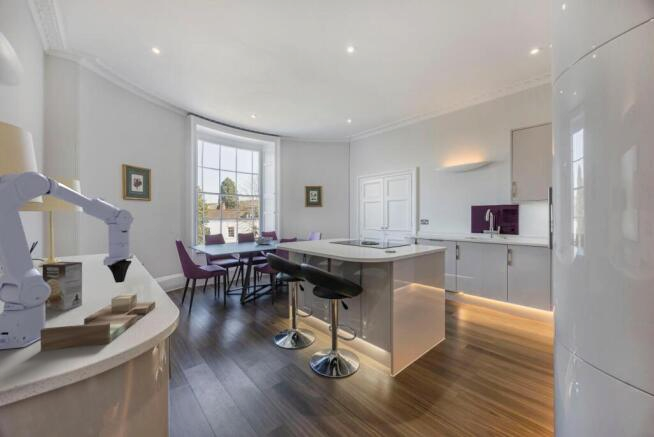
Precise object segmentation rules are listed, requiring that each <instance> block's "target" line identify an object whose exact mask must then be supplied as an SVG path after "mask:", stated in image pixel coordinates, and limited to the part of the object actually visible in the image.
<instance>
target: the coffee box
mask: <svg viewBox="0 0 654 437" xmlns="http://www.w3.org/2000/svg"><path fill="white" fill-rule="evenodd" d="M42 277H43V280H44V281H45V282H46V283H47V284H49V286H50V287H51V294H50V296H49V297H48V299H47V300H46V301H45V311H46V310H49V311H67V310H70V309H73V308H76V307H79V306H82V304H83V262H82V261H57V262H50V263H45V264H42Z"/></svg>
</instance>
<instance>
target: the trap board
mask: <svg viewBox="0 0 654 437" xmlns="http://www.w3.org/2000/svg"><path fill="white" fill-rule="evenodd" d="M155 308H156V301H155V300H154V301H143V302H137V305H136V306H135V307H133V308H132V309H130V310H125V311H112V312H111V304H109V305H107V306H105V307H103V308H101V309H99V310H98V311H96V312H94V313H92V314H91V315H89V316H87V317H86V316H85V318H84V319H83V324H78V325H77V324H76V325H66V326H56V327H55V326H53V327H52V326H51V327H46V328H43V329H41V330H40V331H41V339H40V351H49V350H59V349H69V348H70V349H71V348H78V347H80V348H81V347H88V346H89V347H90V346H98V345H99V346H102V345H108V344H110V343H111V342H113V341H114V340H115V339H116V338H117V337H119V336H120V335H122V333H124V332H125V331H126V330H128V329H129V328H130V327H131V326H133V325H134V324H135V323H137V322H138V321H139V320H140V319H142V318H143V317H145V316H146V315H147V314H149V313H150V312H151V311H152V310H153V309H155ZM149 311H150V312H149Z"/></svg>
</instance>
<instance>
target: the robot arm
mask: <svg viewBox="0 0 654 437" xmlns="http://www.w3.org/2000/svg"><path fill="white" fill-rule="evenodd" d="M41 196H47V197H48V196H50V197H54V198H57V199H59V200H61V201H64V202H66V203H69V204H71V205H74V206H77V207H81V209H82V211H83V213H85V214H86V215H89V216H91V217H94V218H96V219H99V220H101V221H102V222H104V223H105V225H107V226H108V230H107V231H108V234H107V235H108V255H106V256H105V257H104V259H103V262H102V263H103V266H106V267H107V268H108V269H109V270H110V272H111V275H112V277H113V280H114V283H116V284H118V283H120V284H121V283H123V282H125V280H126V276H127V273H128V272H127V271H128V270H129V267H130V265H131V264H132V260H131V259H133V258H134V253H133V252H130V251H131V250H130V229H131V224H132V223H133V221H134V217H133V216H132V213H131V212H130V211H129V210H127V209H120V208H119V206H118V205H112V204H110V203H109V202H106V201H105V198H102V197H93V198H92V197H91V198H89V197H88V196H85V195H83V194H82V193H79V192H77V191H76V190H73V189H71V188H70V187H68V186H66V185H65V184H62V183H60V182H59V181H58V180H55V179H54V178H52V177H49V176H45V175H44V174H42V173H40V172H37V171H26V172H25V171H24V172H21V173H20V172H19V173H6V174H5V173H4V174H3V175H1V176H0V267H1V270H2V275H0V301H1V302H2V303H4V305H3V310H2V312H1V313H0V350H8V349H18V348H19V349H20V348H26V347H28V346H30V345H32V344H33V343H35V342H37V341H39V340H41V331H40V330H41V329H43V328H47V327H46V310H45V301H46V300H47V299H48V297H49V296H50V294H51V287H50V286H49V284H47V283H46V282H45V281H44V280H43V274H41V273H40V271H38V269H36V267H35V265H34V261H33V258H32V254H31V250H30V247H29V244H28V240H27V237H26V234H25V230H24V226H23V222H22V219H21V215H20V211H19V210H20V209H21V208H23V207H24V206H25V205H26V204H27V203H29V201H31V200H34V199H36V198H39V197H41ZM129 259H130V260H129Z"/></svg>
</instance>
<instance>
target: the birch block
mask: <svg viewBox="0 0 654 437" xmlns="http://www.w3.org/2000/svg"><path fill="white" fill-rule="evenodd" d="M110 300H111V302H110V305H111V312H112V311H125V310H130V309H132V308H133V307H135V306H136V305H137V303H138V294H137V293H125V294H119V295H116V296H114V297H113V298H111V299H110Z"/></svg>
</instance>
